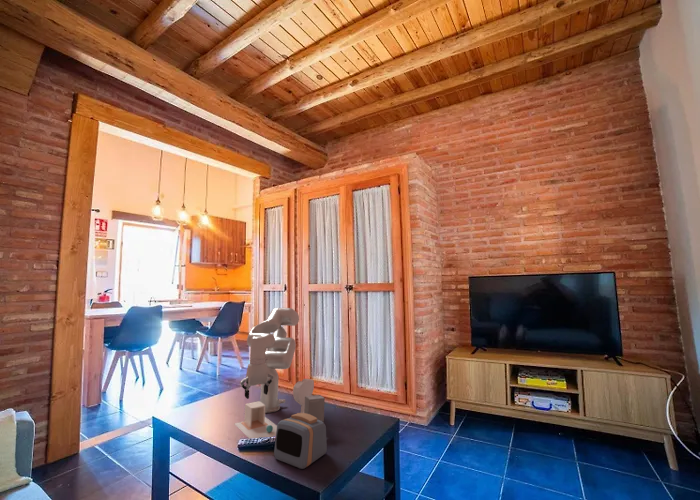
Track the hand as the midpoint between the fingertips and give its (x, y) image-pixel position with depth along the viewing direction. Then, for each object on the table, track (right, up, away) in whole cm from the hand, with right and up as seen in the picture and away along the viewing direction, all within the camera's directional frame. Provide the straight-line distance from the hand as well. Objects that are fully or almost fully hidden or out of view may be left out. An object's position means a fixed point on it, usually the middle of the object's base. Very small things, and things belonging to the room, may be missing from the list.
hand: (256, 395), depth 164 cm
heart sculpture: (+22, -16, +11) cm, 29 cm away
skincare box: (+30, -14, -8) cm, 34 cm away
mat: (+4, -13, -8) cm, 16 cm away
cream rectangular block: (0, -13, -2) cm, 13 cm away
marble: (+9, -10, -11) cm, 18 cm away
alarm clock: (+27, -11, -32) cm, 43 cm away
